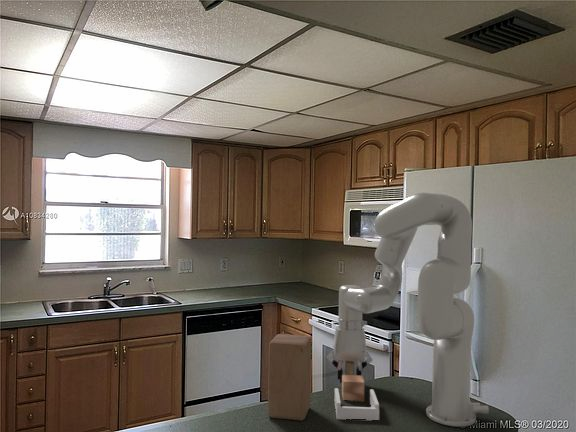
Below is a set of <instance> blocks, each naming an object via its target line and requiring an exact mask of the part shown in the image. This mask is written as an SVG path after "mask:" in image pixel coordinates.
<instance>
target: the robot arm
mask: <svg viewBox="0 0 576 432" xmlns="http://www.w3.org/2000/svg"><path fill="white" fill-rule="evenodd" d="M373 225H374V230H375V233H376V235H377V236H378V237H380V239H379V242H378V245H377V247H376V248H375V249H376V250H375V252H374V258H375V259H376V261H377V262H379V263H380V264H381V265H382V273H381V276H380V278H379V281H378V283H377V285H376V286H372V287H371V286H370V287H365V288H362V287H361V286H359V285H355V284H344V285H341V286H340V287H339V289H338V322H337V323H338V325H337V327H335V331H334V335H333V337H334V338H333V349H332V350H331V351H330V353H329V354H327V356H326V360H327V361H328V362H330V363H331V364H332V365H333V366H334V367H335V368H336V369H337V380H339V383H340V384H342V375H344V374H343V363H344V362H346V361H353V362H356V363H357V366H356V369H355V375H362V371H363V369H364V368H366V366H368V365H369V364H370V363H372V362H373V360H374V359H373V357H372V356H371V355H370V353H369V351H367V343H366V341H367V340H366V332H365V328H363V327H364V326H368V321H366V320H363V314H371V313H375V312H379V311H383V310H387V309H389V308H390V307H391V306H392V305H393V304H394V302H395V300H396V298H397V296H398V294H399V292H400V289H401V287H402V282H403V268H402V265H403V262H404V260H405V257H406V256H407V253H408V251H409V248H410V246H411V244H412V242H413V240H414V237H415V235H416V233H417V230H418V227H422V226H434V225H435V226H437V225H438V226H440V228H441V229H440V232H439V235H438V238H437V255H436V259H432V260H429V261H428V262H426V263H425V264H424V265H423V266H422V268H421V270H420V272H419V275H418V281H417V282H418V283H417V307H416V308H417V309H416V310H417V311H416V312H417V315H416V316H417V317H416V318H417V323H418V324H417V325H418V327H419V329H420V331H421V333H423V335H424V336H425V337H426V338H429V339H430V340H433V341H434V342H433V348H432V383H431V384H432V385H431V387H432V388H431V389H432V394H431V395H432V396H431V400H432V401H431V404H430V405H429V406H427V407H426V409H425V414H426V416H427V417H428V418H429V419H430V420H431V421H433V422H435V423H438V424H441V425H445V426H450V427H460V428H461V427H469V426H472V425H474V424H475V423H476V421H477V416H476V415H477V413H481V414H489V412H490V408H489V405H482V404H481V402H472V401H471V360H472V359H471V357H472V355H471V354H472V353H471V351H472V340H473V333H474V328H475V315H474V311H473V309H472V307H471V305H469V303H468V302H467V301H465V300H463V299H461V298H457V297H454V295H456V294H459V293H462V292H464V291H466V290H468V288H469V286H470V285H471V278H472V273H471V272H472V237H473V236H472V235H473V232H472V231H473V219H472V216H471V212H470V211H469V208H468V207H467V206H466V204H464V203H463V202H462V201H461V200H459V199H457V198H455V197H453V196H451V195H448V194H442V193H430V192H418V193H415V194H413V195H410V196H409V197H406V198H404V199H402V200H400V201H398V202H395V203H394V204H392V205H390V206H388V207H385V208H384V209H382V210H381V211H380V212H379V214H377V216H376V218H375V219H374V223H373ZM333 357H334V358H333Z"/></svg>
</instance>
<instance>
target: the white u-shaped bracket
mask: <svg viewBox="0 0 576 432" xmlns="http://www.w3.org/2000/svg"><path fill="white" fill-rule="evenodd" d="M339 391H340V390H339V388H338V387H334V399H333V400H334V402H335V403H334V408H335V409H336V410H335V409H334V410H335V415H336V416H335V417H336V420H346V419H350V420H351V419H366V420H365V421H372V420H379V421H380V404H379V401H378V398H377V395H376V392H375V390H374V389H372V388H371V389H369V407H367V406H345V405H342V406H341V403H342V402H341V397H340V392H339ZM370 405H371V406H370ZM351 421H352V420H351Z"/></svg>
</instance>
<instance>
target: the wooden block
mask: <svg viewBox="0 0 576 432" xmlns="http://www.w3.org/2000/svg"><path fill="white" fill-rule="evenodd" d="M311 370H312V338H311V336H309V335H304V334H303V335H299V334H287V333H279V334H278V333H277V334H276V335H275V336H274V337H273V339H272V340H271V341H270V342H269V344H268V382H267V383H268V388H267V389H268V390H267V397H268V398H267V415H268V417H269V418H275V419H283V420H284V419H285V420H293V421H305V419H306V416H307V414H308V412H309V409H310V407H311V383H312V381H311V379H312V378H311V376H312V375H311V373H312V371H311Z"/></svg>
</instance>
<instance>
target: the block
mask: <svg viewBox="0 0 576 432" xmlns="http://www.w3.org/2000/svg"><path fill="white" fill-rule="evenodd" d="M344 362H345V364H344V365H345V366H344V369H345V370H344V371H345V372H344V374H342V383H341V397H342V401H343V400H348V401H347V402H365V380H364V377H363V375H362V374H361V375H356V374H355V361H344ZM349 400H351V401H349ZM353 400H354V401H353ZM357 400H359V401H357Z"/></svg>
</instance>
